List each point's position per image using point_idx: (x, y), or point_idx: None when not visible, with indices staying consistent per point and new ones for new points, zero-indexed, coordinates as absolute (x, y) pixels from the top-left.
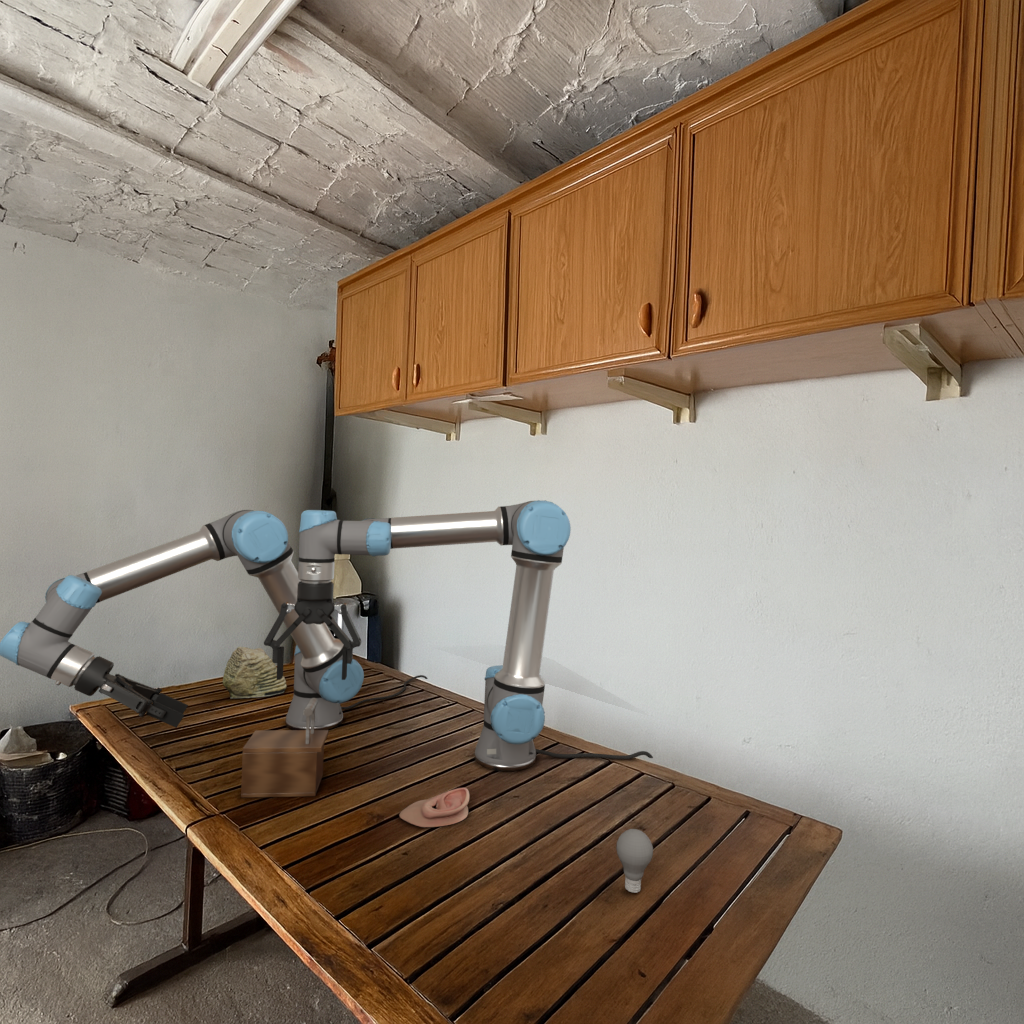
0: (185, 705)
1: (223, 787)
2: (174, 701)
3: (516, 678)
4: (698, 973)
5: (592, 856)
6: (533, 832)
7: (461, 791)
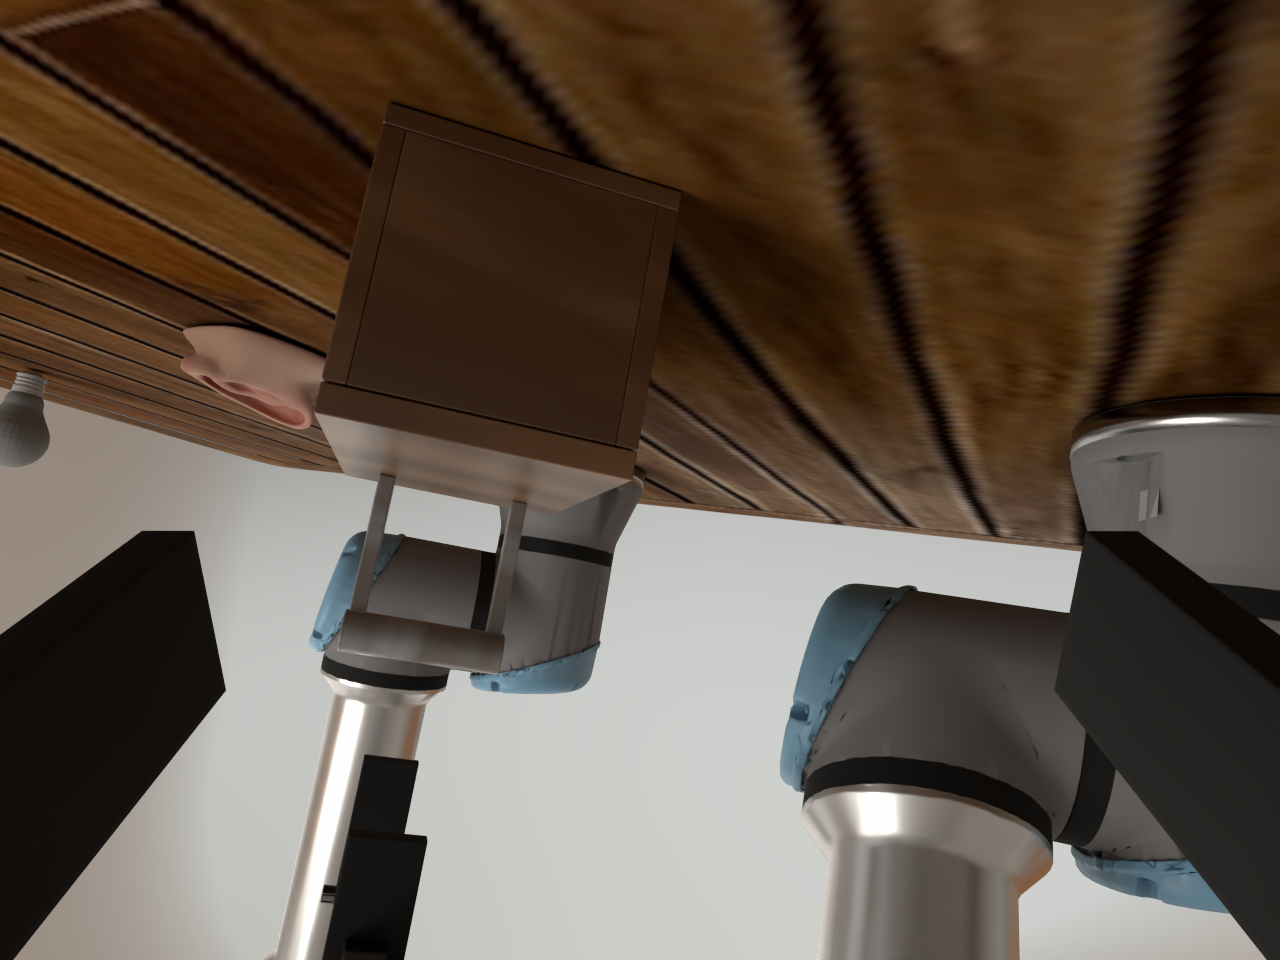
0: (1073, 699)
1: (568, 59)
2: (1171, 807)
3: (332, 687)
4: None
5: (136, 385)
6: None
7: (304, 418)
